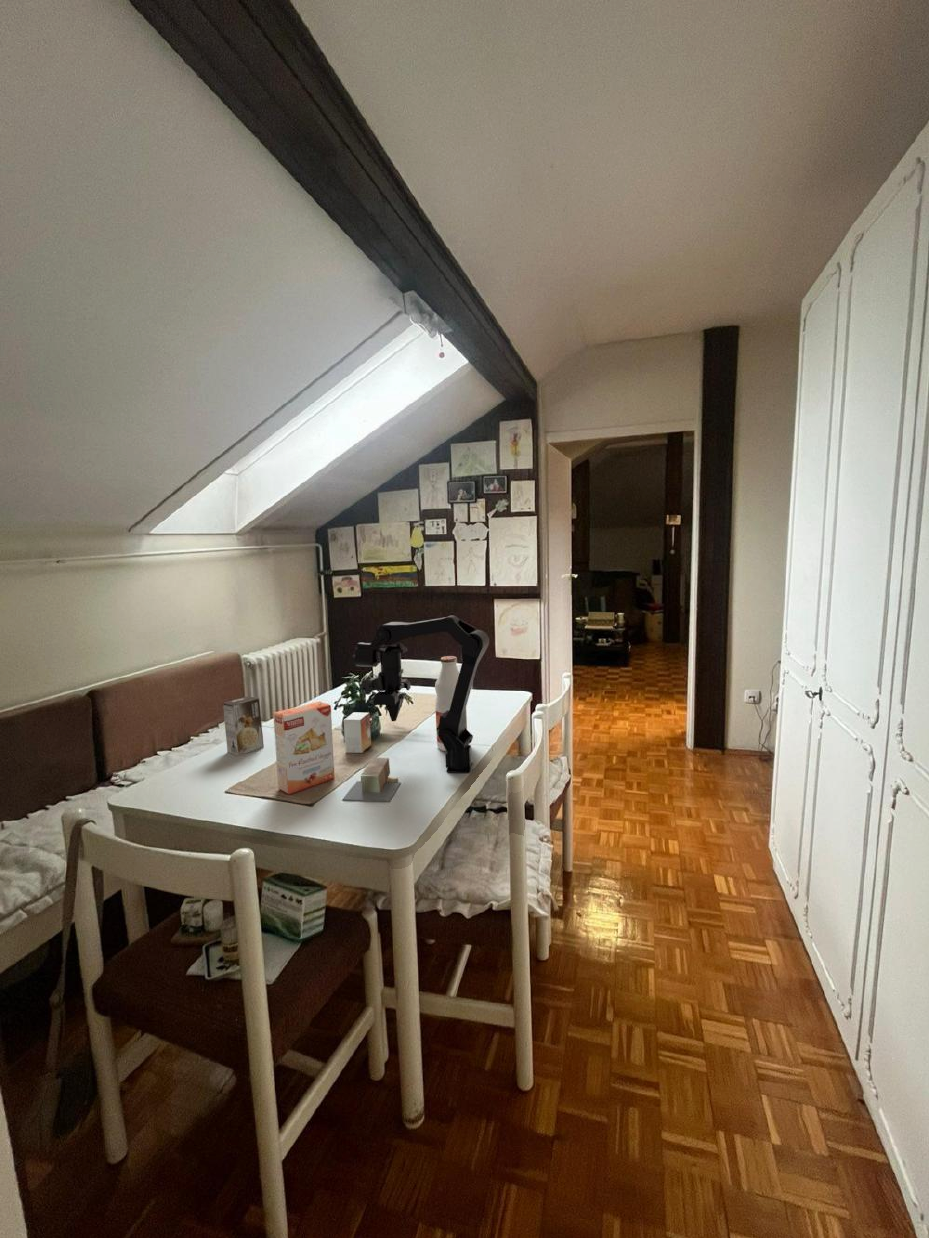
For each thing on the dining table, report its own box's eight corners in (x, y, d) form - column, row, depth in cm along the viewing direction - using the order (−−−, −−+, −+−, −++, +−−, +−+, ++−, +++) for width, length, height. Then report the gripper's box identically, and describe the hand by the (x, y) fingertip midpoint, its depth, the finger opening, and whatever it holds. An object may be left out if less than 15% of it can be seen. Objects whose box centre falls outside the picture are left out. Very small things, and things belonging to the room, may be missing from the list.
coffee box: (252, 743, 189) (248, 695, 187) (264, 747, 185) (260, 698, 183) (226, 752, 182) (221, 702, 180) (238, 756, 178) (233, 705, 176)
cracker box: (289, 796, 148) (283, 716, 146) (277, 789, 153) (271, 712, 150) (336, 778, 158) (331, 703, 155) (324, 773, 162) (319, 700, 160)
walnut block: (388, 757, 156) (377, 776, 147) (390, 773, 157) (379, 792, 148) (372, 757, 157) (360, 775, 147) (374, 772, 158) (362, 792, 148)
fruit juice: (449, 754, 173) (445, 662, 169) (431, 746, 180) (426, 657, 177) (473, 746, 179) (470, 657, 175) (454, 739, 186) (451, 653, 182)
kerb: (398, 781, 155) (398, 777, 155) (397, 782, 154) (397, 779, 154) (362, 780, 156) (361, 776, 156) (360, 781, 155) (360, 778, 155)
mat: (400, 783, 154) (400, 782, 153) (389, 801, 143) (389, 800, 143) (357, 782, 155) (356, 781, 155) (342, 800, 145) (342, 799, 145)
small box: (362, 753, 177) (360, 719, 175) (345, 752, 178) (342, 719, 176) (371, 744, 184) (369, 712, 183) (355, 743, 186) (353, 711, 184)
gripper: (373, 660, 175) (376, 711, 177) (352, 674, 156) (355, 731, 158) (409, 660, 173) (412, 711, 175) (392, 674, 155) (395, 731, 157)
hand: (393, 720), depth 166 cm, fingers closed
